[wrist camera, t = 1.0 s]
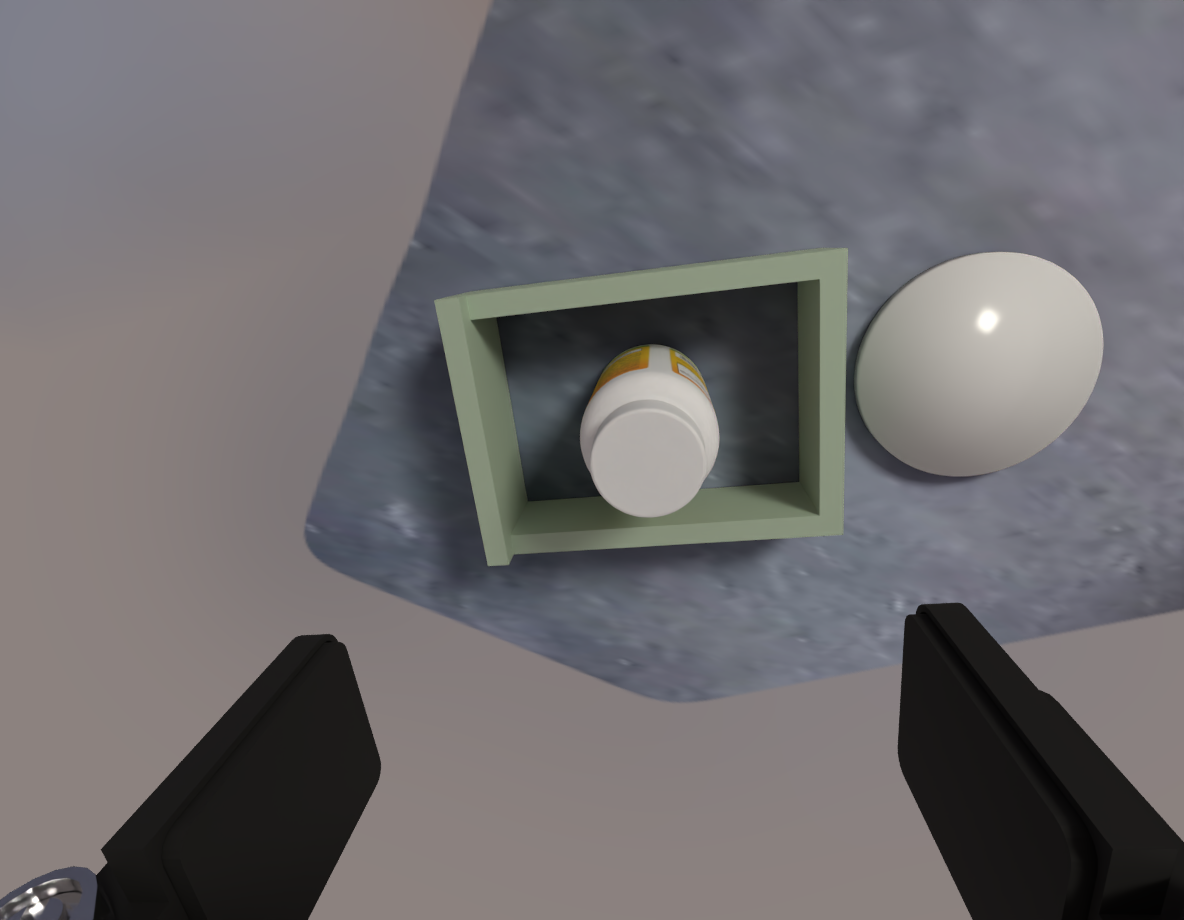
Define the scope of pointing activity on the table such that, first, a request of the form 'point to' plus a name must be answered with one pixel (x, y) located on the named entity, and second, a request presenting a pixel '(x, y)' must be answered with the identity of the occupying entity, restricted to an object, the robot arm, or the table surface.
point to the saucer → (978, 363)
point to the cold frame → (712, 510)
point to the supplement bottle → (649, 431)
